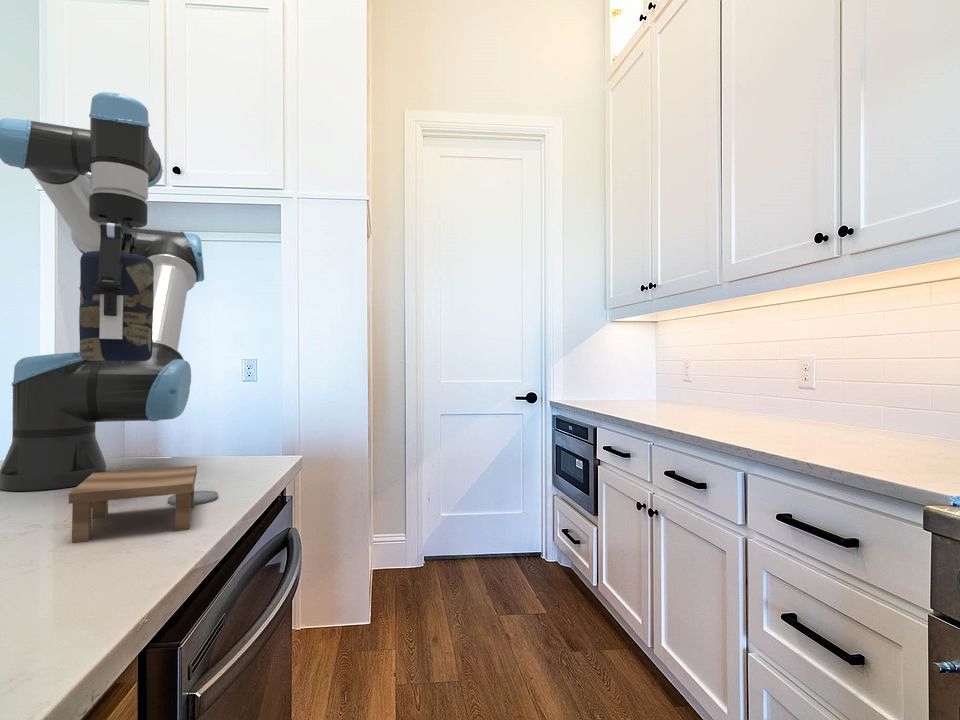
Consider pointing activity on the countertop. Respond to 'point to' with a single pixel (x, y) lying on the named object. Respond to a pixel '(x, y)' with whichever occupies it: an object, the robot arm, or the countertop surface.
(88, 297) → the canister
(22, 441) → the robot arm
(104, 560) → the countertop surface
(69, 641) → the countertop surface
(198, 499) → the slate coaster
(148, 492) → the step stool
